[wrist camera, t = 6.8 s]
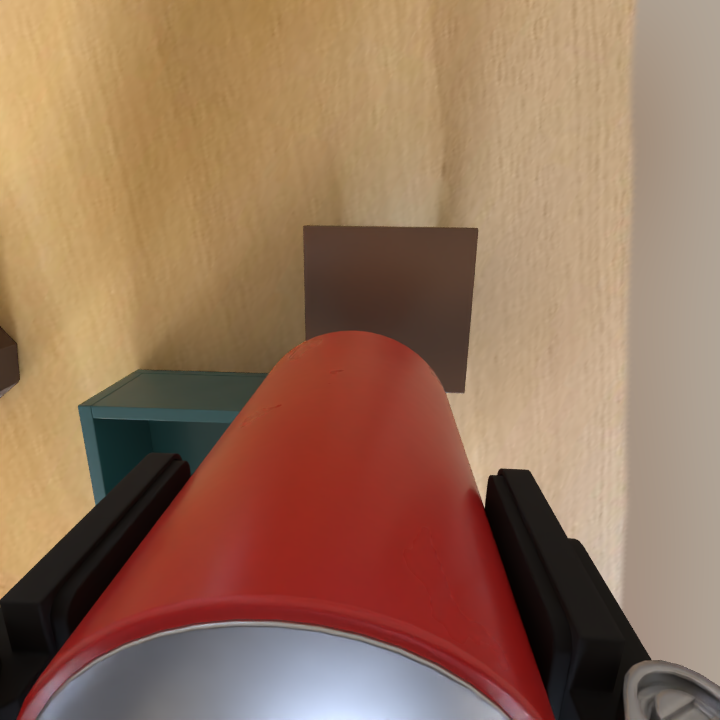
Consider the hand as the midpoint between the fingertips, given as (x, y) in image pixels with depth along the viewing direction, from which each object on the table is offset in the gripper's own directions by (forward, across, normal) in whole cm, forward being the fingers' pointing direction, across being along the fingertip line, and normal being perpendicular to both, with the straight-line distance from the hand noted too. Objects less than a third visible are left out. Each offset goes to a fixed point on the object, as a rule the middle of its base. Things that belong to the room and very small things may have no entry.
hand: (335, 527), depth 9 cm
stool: (+23, -1, -1) cm, 23 cm away
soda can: (+5, 0, 0) cm, 5 cm away
